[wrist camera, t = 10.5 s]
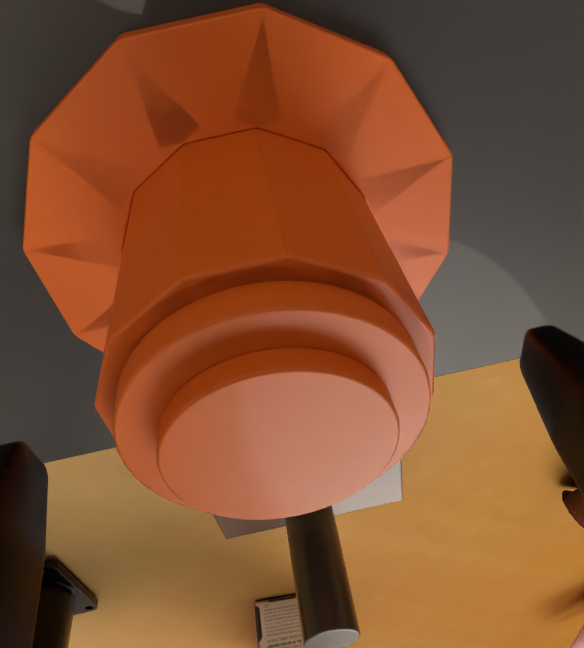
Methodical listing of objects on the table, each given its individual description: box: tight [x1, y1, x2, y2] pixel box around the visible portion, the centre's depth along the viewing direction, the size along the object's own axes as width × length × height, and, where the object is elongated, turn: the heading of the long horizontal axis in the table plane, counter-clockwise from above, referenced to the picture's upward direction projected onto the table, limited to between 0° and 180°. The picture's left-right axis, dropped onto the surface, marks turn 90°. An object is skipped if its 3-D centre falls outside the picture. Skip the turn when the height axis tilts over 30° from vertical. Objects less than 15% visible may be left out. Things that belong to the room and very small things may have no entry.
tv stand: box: [0, 0, 584, 463], centre depth 15 cm, size 14×22×4 cm, turn 99°
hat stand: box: [213, 459, 403, 648], centre depth 23 cm, size 10×10×9 cm
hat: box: [23, 3, 453, 520], centre depth 11 cm, size 10×10×7 cm
